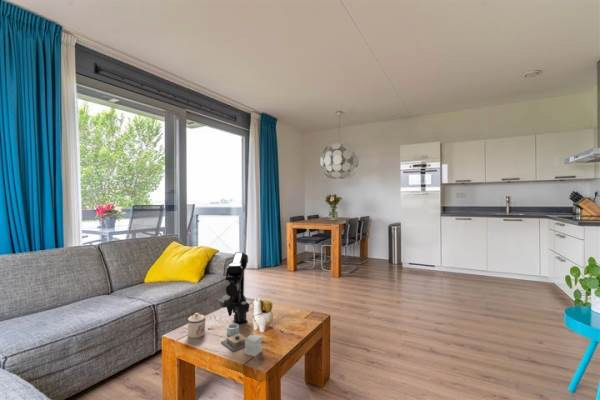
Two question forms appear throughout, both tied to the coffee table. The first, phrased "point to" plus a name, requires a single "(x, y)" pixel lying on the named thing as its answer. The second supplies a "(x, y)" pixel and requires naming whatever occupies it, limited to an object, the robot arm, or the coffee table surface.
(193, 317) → the teacup with lid
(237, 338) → the lid
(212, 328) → the coffee table surface
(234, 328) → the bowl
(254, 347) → the skincare box
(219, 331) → the coffee table surface
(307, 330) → the coffee table surface
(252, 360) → the coffee table surface
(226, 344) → the mat
